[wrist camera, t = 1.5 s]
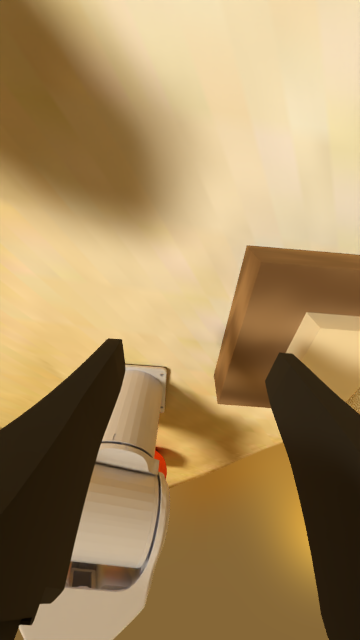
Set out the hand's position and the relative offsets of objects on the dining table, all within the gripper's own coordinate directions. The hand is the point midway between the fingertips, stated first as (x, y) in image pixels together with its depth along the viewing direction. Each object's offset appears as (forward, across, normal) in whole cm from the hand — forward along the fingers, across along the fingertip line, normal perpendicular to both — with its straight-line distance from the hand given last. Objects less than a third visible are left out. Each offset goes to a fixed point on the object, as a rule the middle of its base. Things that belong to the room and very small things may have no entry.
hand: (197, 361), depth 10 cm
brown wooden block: (+10, -10, +5) cm, 15 cm away
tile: (+6, -12, +5) cm, 14 cm away
